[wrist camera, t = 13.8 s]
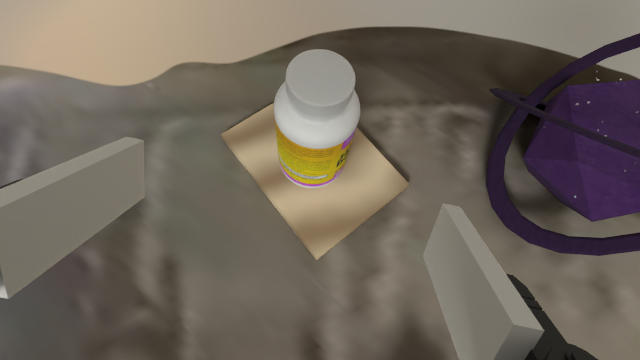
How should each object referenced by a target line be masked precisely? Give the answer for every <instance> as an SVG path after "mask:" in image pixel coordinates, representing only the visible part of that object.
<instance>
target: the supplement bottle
mask: <svg viewBox="0 0 640 360" xmlns="http://www.w3.org/2000/svg"><path fill="white" fill-rule="evenodd" d="M355 81H356V79H355V73H354V70H353V68H352V66H351V65H350V63H349V62H348V61H347V60H346V59H345V58H344V57H342V56H341V55H339V54H337V53H335V52H332V51H329V50H323V49H314V50H308V51H305V52H303V53H301V54H299V55H297V56H296V57H295V58H294V59H293V60H292V61H291V62H290V64H289V65H288V68H287V70H286V81H285V82H284V83H283V84H282V85H281V87H280V88H279V90H278V92H277V94H276V97H275V101H274V117H275V127H276V137H277V147H278V157H279V163H280V167H281V169H282V171H283V173H284V174H285V176H286V177H287V178H288V179H289V180H290V181H291V182H293V183H294V184H296V185H298V186H301V187H305V188H320V187H324V186H326V185H328V184H330V183H332V182H333V181H334V180H336V179H337V178H338V176H339V175H340V174H341V172H342V170H343V167H344V165H345V162H346V159H347V155H348V153H349V150H350V146H351V143H352V140H353V137H354V134H355V130H356V127H357V124H358V121H359V117H360V102H359V99H358V96H357V94H356V92H355V90H354V87H355Z"/></svg>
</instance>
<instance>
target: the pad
mask: <svg viewBox="0 0 640 360" xmlns="http://www.w3.org/2000/svg"><path fill="white" fill-rule="evenodd" d="M221 136H222V138H223V140H224V141H225V142H226V144H227V145H228V146H229V148H230V149H231V150H232V152H233V153H234V154H235V155H236V157H237V158H238V159H239V161H240V162H241V163H242V165H243V166H244V167H245V168H246V170H247V171H248V172H249V174H250V175H251V176H252V177H253V179H254V180H255V181H256V183H257V184H258V185H259V187H260V188H261V189H262V190H263V192H264V193H265V194H266V196H267V197H268V198H269V200H270V201H271V202H272V203H273V205H274V206H275V207H276V209H277V210H278V211H279V213H280V214H281V215H282V216H283V218H284V219H285V220H286V222H287V223H288V224H289V226H290V227H291V228H292V229H293V231H294V232H295V233H296V235H297V236H298V237H299V239H300V240H301V241H302V242H303V244H304V245H305V246H306V248H307V249H308V250H309V251H310V253H311V254H312V255H313V257H314V258H315V259H316V261H317V260H318V259H319V258H320V257H322V256H323V255H324V254H325V253H327V252H328V251H329V250H330V249H332V248H333V247H334V246H335V245H337V244H338V243H339V242H340V241H342V240H343V239H344V238H345V237H347V236H348V235H349V234H350V233H352V232H353V231H354V230H355V229H357V228H358V227H359V226H360V225H362V224H363V223H364V222H365V221H367V220H368V219H369V218H370V217H372V216H373V215H374V214H375V213H377V212H378V211H379V210H380V209H382V208H383V207H384V206H385V205H387V204H388V203H389V202H390V201H392V200H393V199H394V198H395V197H397V196H398V195H399V194H400V193H402V192H403V191H404V190H405V189H407V188H408V186H409V185H410V184H409V183H408V182H407V181H406V180H405V179H404V178H403V177H402V176H401V175H400V174H399V172H398V171H397V170H396V169H395V168H394V167H393V166H392V165H391V164H390V163H389V162H388V161H387V159H386V158H385V157H384V156H383V155H382V154H381V153H380V152H379V151H378V150H377V149H376V148H375V146H374V145H373V144H372V143H371V142H370V141H369V140H368V139H367V138H366V137H365V136H364V135H363V133H362V132H361V131H360V130H359V129H358V128H357V127H356V130H355V134H354V137H353V140H352V143H351V146H350V150H349V153H348V155H347V159H346V162H345V165H344V167H343V170H342V172H341V174H340V175H339V176H338V178H337V179H336V180H334V181H333V182H332V183H330V184H328V185H326V186H324V187H320V188H305V187H301V186H298V185H296V184H294V183H293V182H291V181H290V180H289V179H288V178H287V177H286V176H285V174H284V173H283V171H282V169H281V167H280V163H279V157H278V147H277V137H276V127H275V117H274V103H272V104H271V105H269V106H267V107H266V108H264V109H262V110H261V111H259V112H257V113H256V114H254V115H252V116H251V117H249V118H247V119H246V120H244V121H242V122H241V123H239V124H237V125H236V126H234V127H232V128H231V129H229V130H227V131H226V132H224V133H222V134H221Z"/></svg>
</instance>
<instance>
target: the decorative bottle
mask: <svg viewBox="0 0 640 360" xmlns="http://www.w3.org/2000/svg"><path fill="white" fill-rule="evenodd" d="M638 47H640V33H639V34H636V35H634V36H631V37H628V38H625V39H622V40H619V41H616V42H613V43H611V44H608V45H605V46H603V47H601V48H599V49H597V50H595V51H593V52H591V53H589V54H587V55H585V56H583V57H582V58H580V59H578V60H576V61H574V62H572V63H570V64H569V65H567V66H566V67H564V68H563V69H562V70H560V71H559V72H557V73H556V74H555V75H553V76H552V77H550V78H549V79H548V80H546V81H545V82H544V83H542V84H541V85H540V86H539V87H538V88H537V89H536V90H535V91H534V92H533V93H532V94H531V95H529V96H524V95H521V94H518V93H514V92H510V91H507V90H502V89H497V88H494V89H489V90H490V91H491V93H493V94H494V95H495V96H496V97H498V98H500V99H502V100H504V101H506V102H508V103H509V104H512V105H514V106H516V107H517V108H516V110H515V111H514V113H513V114H512V115H511V117H510V118H509V120H508V121H507V123H506V124H505V126H504V127H503V128H502V130H501V131H500V133H499V134H498V137H497V139H496V142H495V144H494V147H493V149H492V152H491V154H490V157H489V159H488V169H487V179H486V186H487V190H488V194H489V198H490V202H491V206H492V208H493V210H494V211H495V212H496V214H497V215H498V217H499V218H500V219H501V221H502V222H503V224H504V225H505V226H506V227H507V228H508V229H509V230H511V231H512V232H514V233H515V234H517V235H518V236H520V237H521V238H523V239H524V240H525V241H527V242H528V243H531V244H534V245H537V246H540V247H543V248H547V249H550V250H553V251H556V252H559V253H569V254H582V255H596V256H601V255H608V254H616V253H624V252H632V251H640V233H634V234H627V235H620V236H613V237H607V238H591V237H572V236H566V235H563V234H559V233H556V232H553V231H549V230H546V229H542V228H541V227H539V226H537V225H536V224H534V223H533V222H531V221H530V220H528V219H527V218H525V217H524V216H522V215H521V214H520V212H519V211H518V210H517V208H516V207H515V206H514V204H513V203H512V202H511V200H510V199H509V197H508V193H507V190H506V186H505V182H504V179H503V177H504V166H505V156H506V154H507V151H508V149H509V146H510V144H511V141H512V139H513V136H514V134H515V133H516V131H517V130H518V128H519V127H520V125H521V124H522V122H523V121H524V120H525V118H526V117H527V115H528V114H529V113H531V114H533V115H535V116H538V117H540V118H541V119H540V121H539V123H538V125H537V128H536V130H535V132H534V134H533V137H532V139H531V141H530V143H529V145H528V148H527V150H526V152H525V154H524V157H523V159H524V161H525V164H526V166H527V169H528V171H529V172H530V173H531V174H532V175H533V176H534V177H535V178H536V179H537V180H538V181H539V182H540V183H541V184H542V185H544V186H545V187H546V188H547V189H548V190H549V191H550V192H551V193H552V194H553V195H554V196H555V197H556V198H557V199H558V200H559V201H561V202H562V203H563V204H564V205H566V206H568V207H569V208H571V209H573V210H574V211H576V212H577V213H579V214H581V215H582V216H584V217H585V218H587V219H589V220H590V221H597V220H602V219H607V218H612V217H617V216H622V215H627V214H632V213H637V212H640V80H631V81H619V82H606V83H594V84H581V85H569V86H566V87H565V88H564V89H563V90H562V91H560V92H559V93H558V94H557V95H555V96H554V97H553V98H552V99H550V100H549V101H548V103H547V102H544V101H542V100H543V99H544V98H545V97H546V96H547V95H548V94H549V93H550V92H551V91H552V90H554V89H555V88H557V87H558V86H559V85H561V84H562V83H564V82H565V81H566V80H568V79H569V78H571V77H572V76H574V75H575V74H576V73H578V72H580V71H582V70H584V69H586V68H588V67H590V66H592V65H594V64H596V63H598V62H600V61H602V60H604V59H606V58H608V57H611V56H614V55H617V54H620V53H623V52H626V51H629V50H632V49H635V48H638ZM597 72H598V71H597ZM596 80H597V78H596ZM598 80H599V79H598ZM598 80H597V81H598ZM620 80H622V78H621V79H620ZM521 100H523V101H521ZM537 105H541V106H544V107H545V110H544V111H542V110H540V109H538V108H535V107H536V106H537Z"/></svg>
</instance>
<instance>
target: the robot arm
mask: <svg viewBox="0 0 640 360" xmlns="http://www.w3.org/2000/svg"><path fill="white" fill-rule="evenodd" d="M144 197H145V176H144V140H140V139H136V138H131V137H124V138H122V139H119V140H117V141H115V142H112V143H110V144H107V145H105V146H103V147H100V148H98V149H95V150H93V151H90V152H88V153H86V154H83V155H81V156H78V157H76V158H74V159H71V160H69V161H66V162H64V163H62V164H59V165H57V166H54V167H52V168H50V169H47V170H45V171H42V172H40V173H38V174H35V175H33V176H30V177H28V178H25V179H20V180H16V181H14V182H11V183H9V184H7V185H4V186H2V187H1V188H0V297H1V298H6V299H9V298H10V297H12V296H13V295H14V294H16V293H17V292H18V291H20V290H21V289H22V288H24V287H25V286H26V285H28V284H29V283H30V282H32V281H33V280H34V279H36V278H37V277H38V276H40V275H41V274H42V273H44V272H45V271H46V270H48V269H49V268H50V267H52V266H53V265H54V264H56V263H57V262H58V261H60V260H61V259H62V258H64V257H65V256H66V255H68V254H69V253H70V252H72V251H73V250H74V249H76V248H77V247H78V246H80V245H81V244H82V243H84V242H85V241H86V240H88V239H89V238H90V237H92V236H93V235H94V234H96V233H97V232H98V231H100V230H101V229H102V228H104V227H105V226H106V225H108V224H109V223H111V222H112V221H113V220H115V219H116V218H117V217H119V216H120V215H121V214H123V213H124V212H125V211H127V210H128V209H129V208H131V207H132V206H133V205H135V204H136V203H137V202H139V201H140V200H141V199H143V198H144ZM423 257H424V260H425V263H426V266H427V269H428V272H429V275H430V277H431V280H432V283H433V286H434V289H435V292H436V295H437V298H438V301H439V304H440V306H441V309H442V312H443V315H444V318H445V321H446V324H447V327H448V330H449V332H450V335H451V338H452V341H453V344H454V347H455V350H456V353H457V356H458V358H459V360H598V359H596V358H595V357H594V356H592V355H591V354H589V353H588V352H587V351H585V350H583V349H581V348H579V347H577V346H575V345H572V344H568V343H567V342H566V341H565V339H564V338H563V337H562V335H561V334H560V332H559V331H558V330H557V328H556V327H555V326H554V324H553V323H552V321H551V320H550V319H549V317H548V316H547V315H546V313H545V312H544V311H542V308H541V306H540V305H539V304H538V302H537V301H535V298H534V297H533V295H532V294H531V293H530V291H529V290H528V288H527V287H526V286H525V285H524V284H522V283H521V282H520V281H519V280H518V279H517V278H515V277H514V276H513V275H509V274H505V272H504V271H503V269H502V268H501V266H500V265H499V263H498V262H497V260H496V259H495V257H494V256H493V254H492V253H491V251H490V250H489V248H488V247H487V246H486V244H485V243H484V241H483V240H482V238H481V237H480V235H479V234H478V232H477V231H476V229H475V228H474V226H473V225H472V223H471V222H470V220H469V219H468V217H467V216H466V215H465V213H464V212H463V210H462V209H461V207H459V206H454V205H449V204H444V203H443V204H442V207H441V209H440V212H439V214H438V217H437V220H436V222H435V225H434V228H433V230H432V233H431V235H430V238H429V241H428V243H427V246H426V249H425V251H424V254H423Z"/></svg>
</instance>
